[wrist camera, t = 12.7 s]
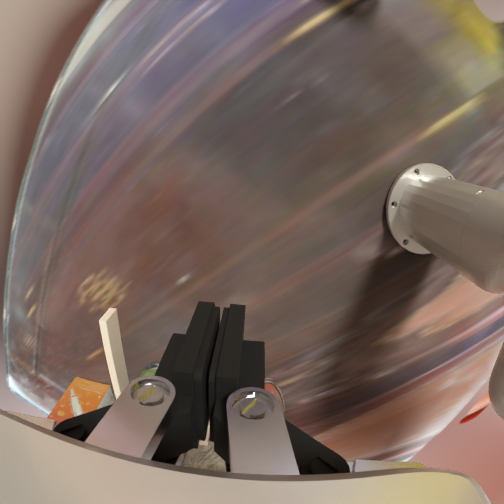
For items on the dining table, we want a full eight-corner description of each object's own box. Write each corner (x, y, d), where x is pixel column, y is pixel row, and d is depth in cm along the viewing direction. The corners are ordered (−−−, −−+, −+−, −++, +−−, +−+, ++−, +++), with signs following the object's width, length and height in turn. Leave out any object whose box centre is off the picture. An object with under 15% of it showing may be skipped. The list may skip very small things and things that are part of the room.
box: (214, 320, 44) (205, 353, 36) (213, 411, 50) (207, 445, 42) (109, 307, 44) (86, 334, 36) (126, 397, 50) (112, 427, 42)
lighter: (287, 407, 49) (291, 451, 40) (268, 411, 50) (269, 455, 40) (275, 376, 47) (278, 422, 37) (255, 380, 47) (253, 426, 38)
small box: (110, 384, 49) (83, 433, 37) (117, 407, 51) (94, 455, 39) (75, 375, 49) (44, 419, 37) (82, 398, 51) (56, 442, 39)
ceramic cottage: (175, 465, 57) (168, 518, 42) (200, 429, 53) (195, 492, 38) (237, 481, 60) (239, 531, 45) (270, 448, 55) (278, 506, 41)
